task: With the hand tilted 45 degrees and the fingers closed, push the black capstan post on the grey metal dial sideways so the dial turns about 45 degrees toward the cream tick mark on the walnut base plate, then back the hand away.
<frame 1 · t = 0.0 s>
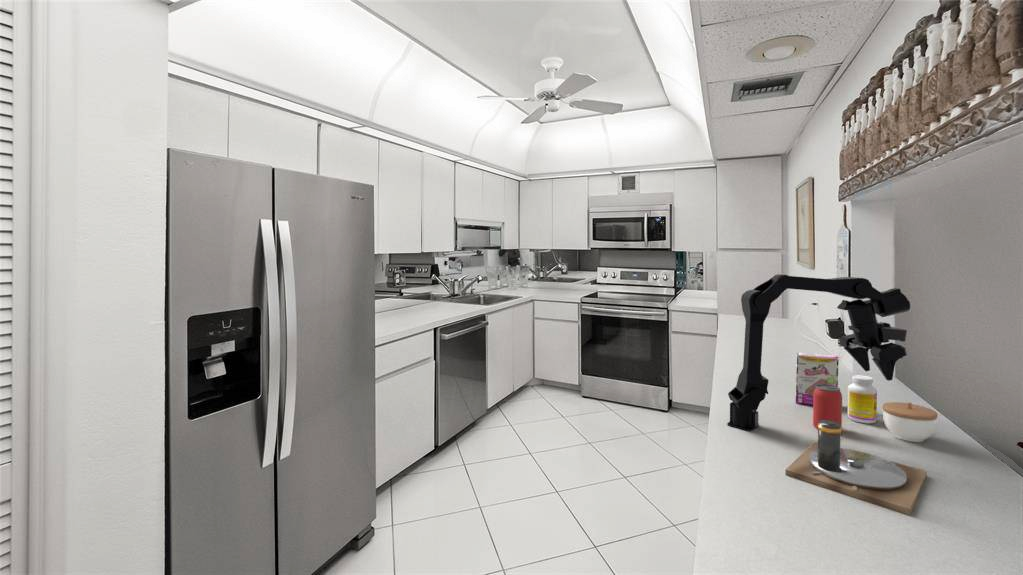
hand: (878, 375, 118), 15 cm above the countertop, tool pointing down, fingers open, 9 cm apart
lidded jar: (908, 437, 114), on the countertop
dial: (855, 445, 96), point 7 cm above the countertop, hinge at 0.0°
supplement bottle: (861, 420, 126), on the countertop
beer can: (827, 429, 121), on the countertop
base plate: (855, 475, 96), on the countertop
candy bar box: (815, 404, 140), on the countertop
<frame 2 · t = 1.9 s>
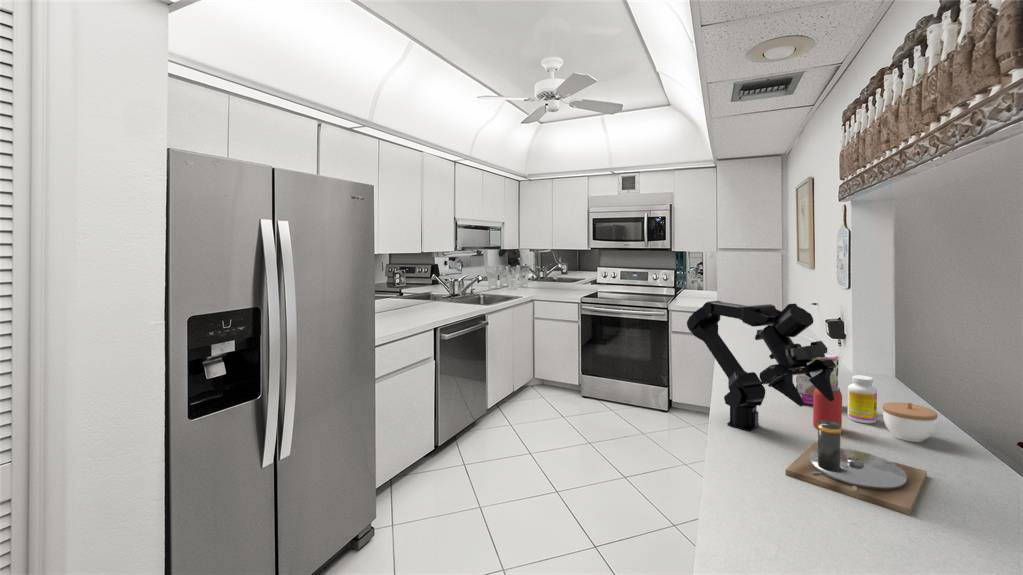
hand: (817, 403, 102), 14 cm above the countertop, tool tilted 40°, fingers open, 9 cm apart
nothing on the countertop moved.
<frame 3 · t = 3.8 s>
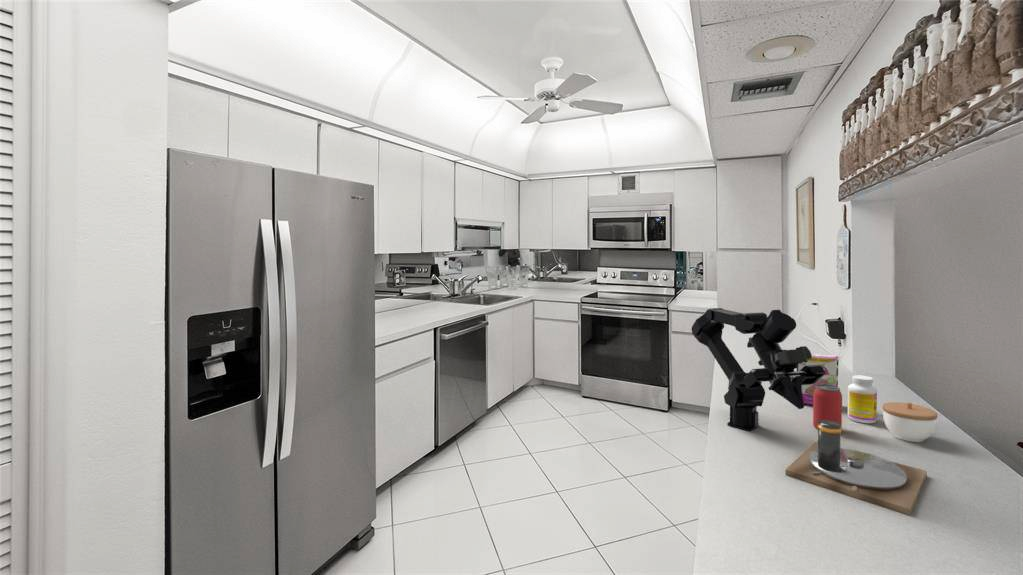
hand: (801, 408, 103), 13 cm above the countertop, tool tilted 45°, fingers closed
nothing on the countertop moved.
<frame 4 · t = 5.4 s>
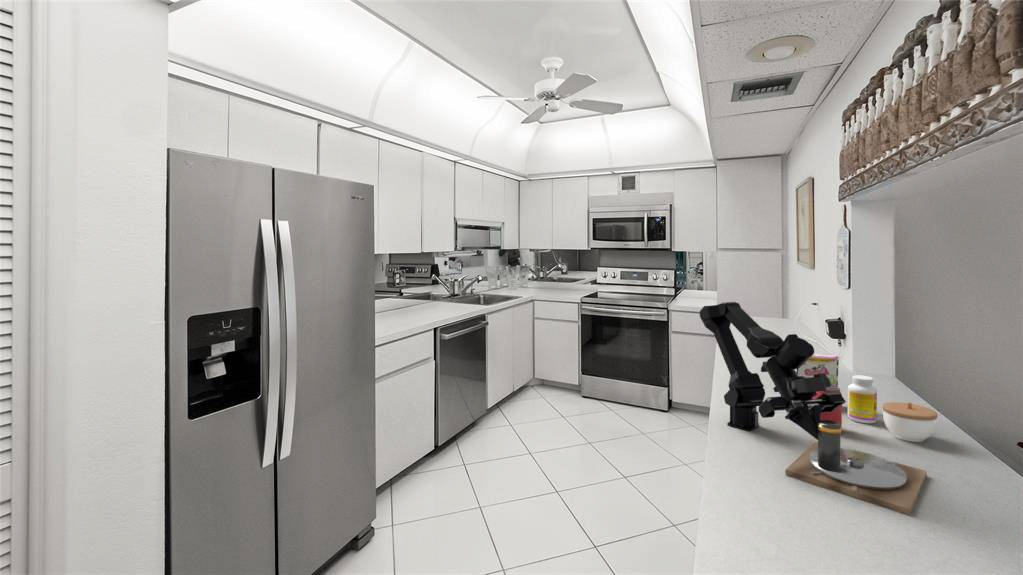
hand: (821, 439, 97), 8 cm above the countertop, tool tilted 45°, fingers closed, pressing on dial
dial: (855, 445, 96), point 7 cm above the countertop, hinge at 0.3°, touching gripper
everything else where it was.
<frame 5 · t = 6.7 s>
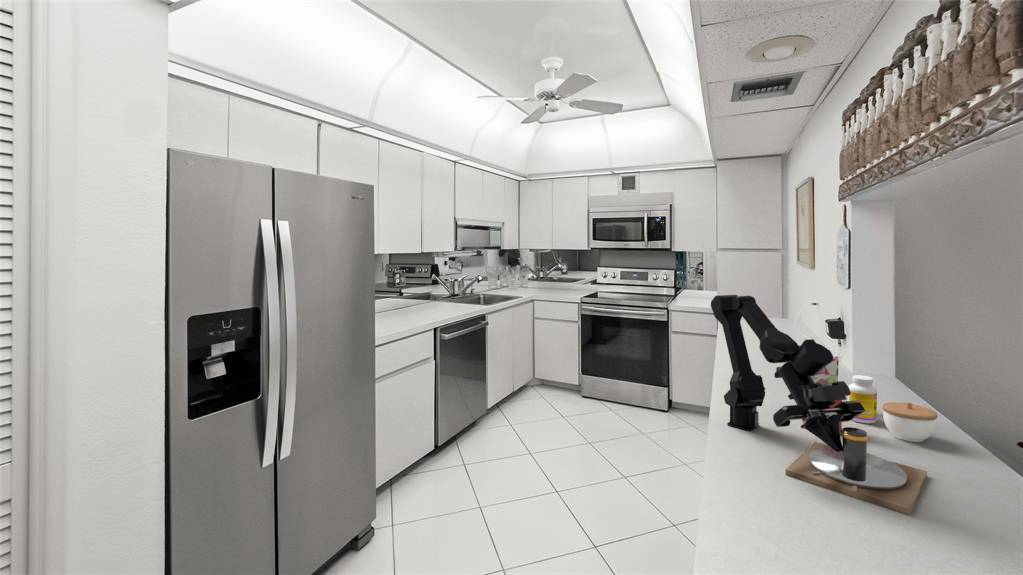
hand: (839, 451, 92), 7 cm above the countertop, tool tilted 45°, fingers closed
dial: (855, 445, 96), point 7 cm above the countertop, hinge at 43.3°, touching gripper
everything else where it was.
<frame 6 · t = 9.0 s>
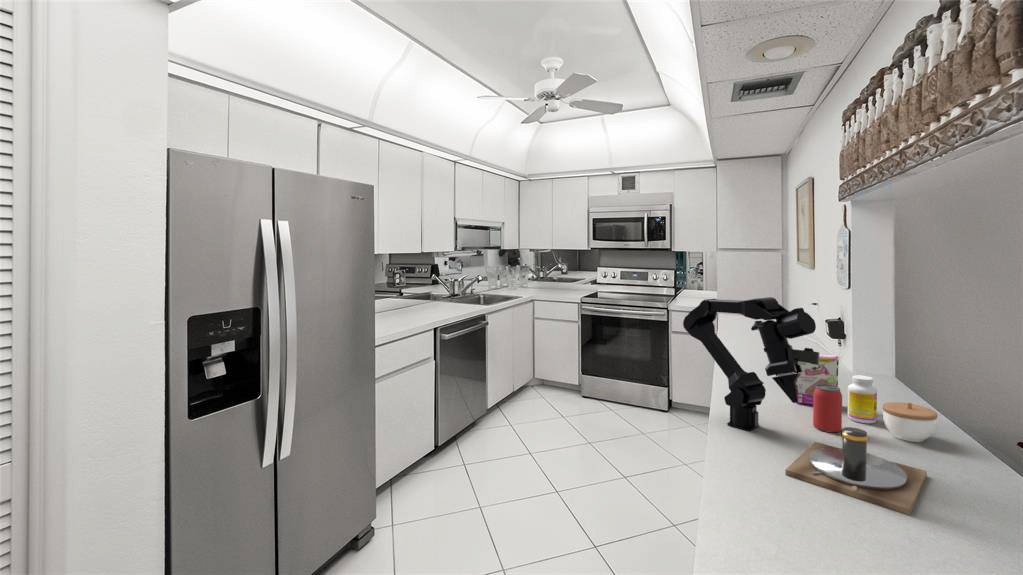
hand: (795, 402, 109), 12 cm above the countertop, tool tilted 25°, fingers closed
dial: (855, 445, 96), point 7 cm above the countertop, hinge at 43.3°
everything else where it was.
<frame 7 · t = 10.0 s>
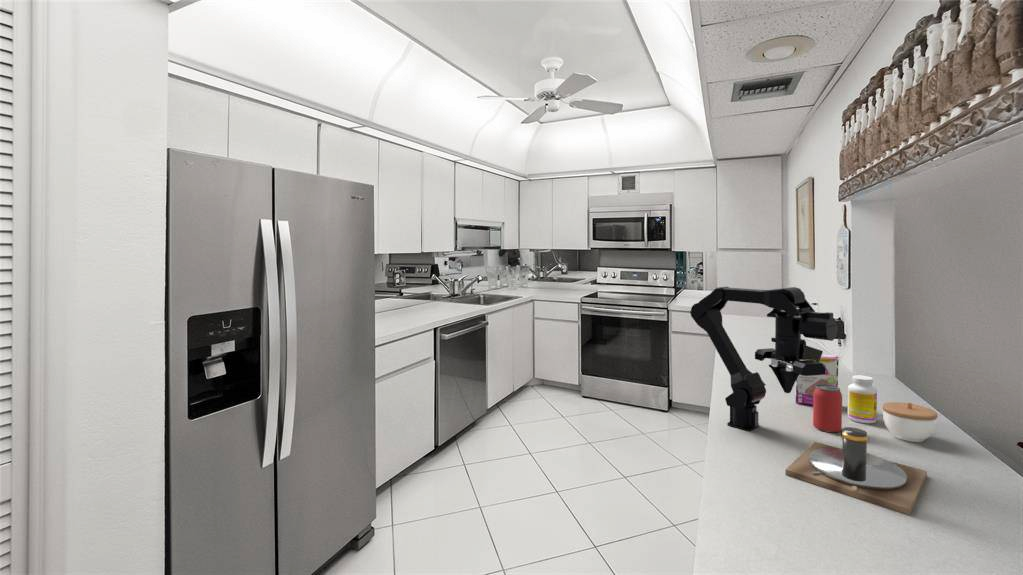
hand: (787, 392, 114), 13 cm above the countertop, tool pointing down, fingers closed
nothing on the countertop moved.
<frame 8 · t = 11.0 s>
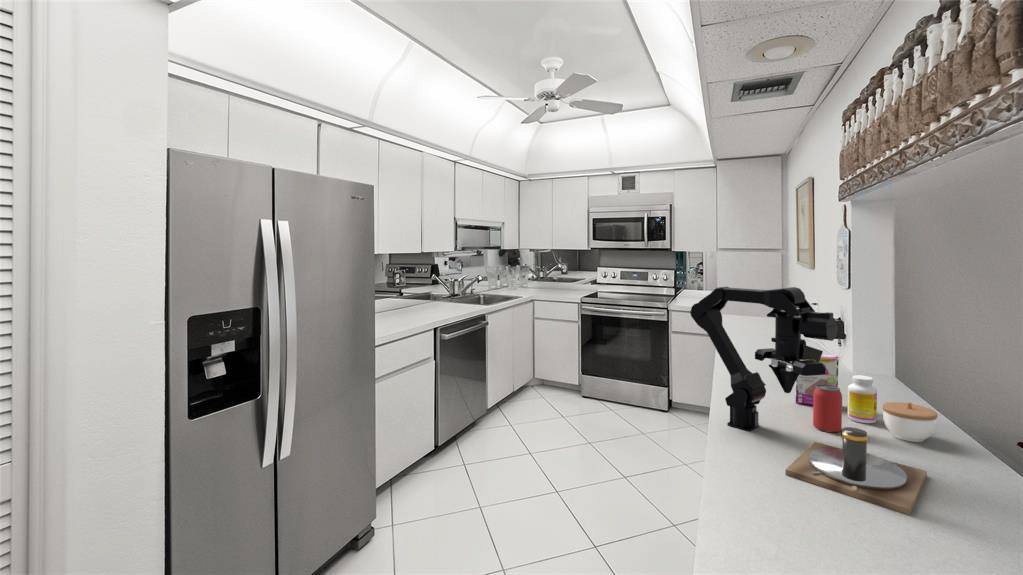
hand: (787, 392, 114), 13 cm above the countertop, tool pointing down, fingers closed
nothing on the countertop moved.
at the end: dial at +43° (first picture: +0°) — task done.
